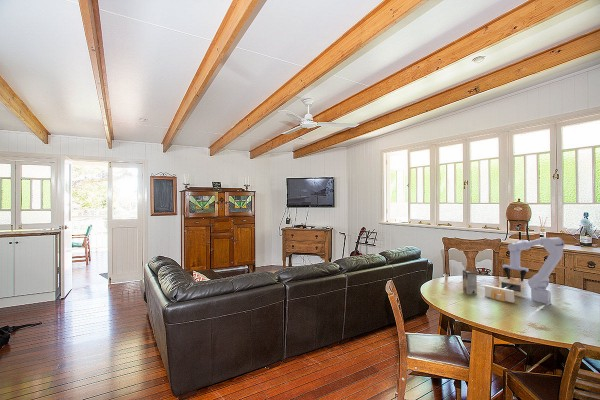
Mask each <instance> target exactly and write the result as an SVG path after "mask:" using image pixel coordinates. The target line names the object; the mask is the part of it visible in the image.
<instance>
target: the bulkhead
mask: <svg viewBox="0 0 600 400" xmlns="http://www.w3.org/2000/svg"><path fill="white" fill-rule="evenodd" d="M491 290H496V291H501V292H505V301H504V302H507V303H513V304H514V303H515V291H513V290H508V289H503V288H502V287H497V286H492V285H489V284H488V285H487V284H485V285H484V297H486V298H491ZM496 299H499V300H498V301H500V300H501V295H500V294H496V293H495V299H494V300H496Z"/></svg>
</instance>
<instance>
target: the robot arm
mask: <svg viewBox="0 0 600 400" xmlns="http://www.w3.org/2000/svg"><path fill="white" fill-rule="evenodd" d="M533 246H542V247H543V248H544V249H545V250H546V252H547V253H548V254H549V255H548V256H547V258H546V259H545V260H544V263H543V264H542V266H541V267H540V268H539V270H538V271H537V273H536V274H534V275H532V277H530V278H528V280H527V284H528V286H529V288H530V297H531V301H534V302H537V303H543V304H542V306H546V307H548V306H549V305H551V304H552V299H551V298H552V297H551V296H552V293H551V291H550V290H548V289H547V287H549V282H550V280H551V279H550V278H549V277H550V275H551V274H552V272H553V271H554V269H555V268H556V267H557V265H558V264H559V262H560V260H562V257H563V256H564V247H565V246H566V244H565V241H564V240H563V239H562V238H561V237H557V236H556V237H540V238H537V239H534V240H526V239H522V240H520V241H515V242H510V243H509V244H507V250H508V251H509V265H508V264H502V268H503V270H504V273H505V274H506V277H507V280H510V279H511V270H515V271H519V272H520V282H524V279H525V276H526V274H527V273H528V272H529V268H528V267H524V266H521V253H522V251H525V250H529V249H531V248H532V247H533Z"/></svg>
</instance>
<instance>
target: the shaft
mask: <svg viewBox="0 0 600 400" xmlns="http://www.w3.org/2000/svg"><path fill="white" fill-rule="evenodd" d="M500 284H501V287H500V288H503V289H508V290H513V291H514V292H517V293H522V285H521V284H517V283H513V282H512V283H510V282H508V281H507V282H506V281H501V283H500Z"/></svg>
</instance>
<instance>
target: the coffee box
mask: <svg viewBox="0 0 600 400" xmlns="http://www.w3.org/2000/svg"><path fill="white" fill-rule="evenodd" d="M477 279H478V277H477V272H475V271H473V270H470V269H467V270H465V269H463V270H462V293H464V294H465V293H466V294H467V295H478V293H477V291H478V289H477V288H478V287H477V286H478V285H477V283H478V282H477V281H478V280H477Z"/></svg>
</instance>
